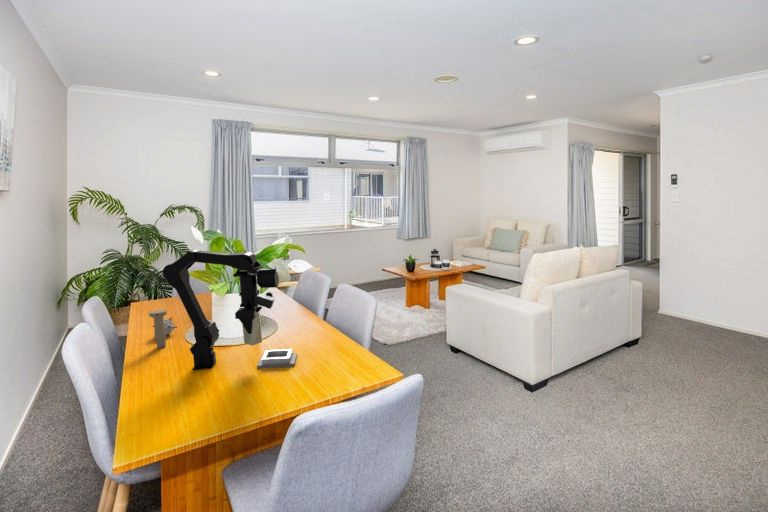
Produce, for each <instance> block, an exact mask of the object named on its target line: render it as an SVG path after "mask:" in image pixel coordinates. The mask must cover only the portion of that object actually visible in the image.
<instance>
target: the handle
mask: <svg viewBox="0 0 768 512" xmlns="http://www.w3.org/2000/svg"><path fill="white" fill-rule="evenodd" d="M167 313H168V311H167V309H157V310H152V311H149V312H148V316H149V317H150V318H153V326H154V327H153V328H154V329H153V330H154V334H153V335H154V340H155V344H156V348H157V349H163V348H165V347H166V342H167V335H166V333H165V327H164V321H163V319H164V316H166V315H167Z"/></svg>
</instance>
